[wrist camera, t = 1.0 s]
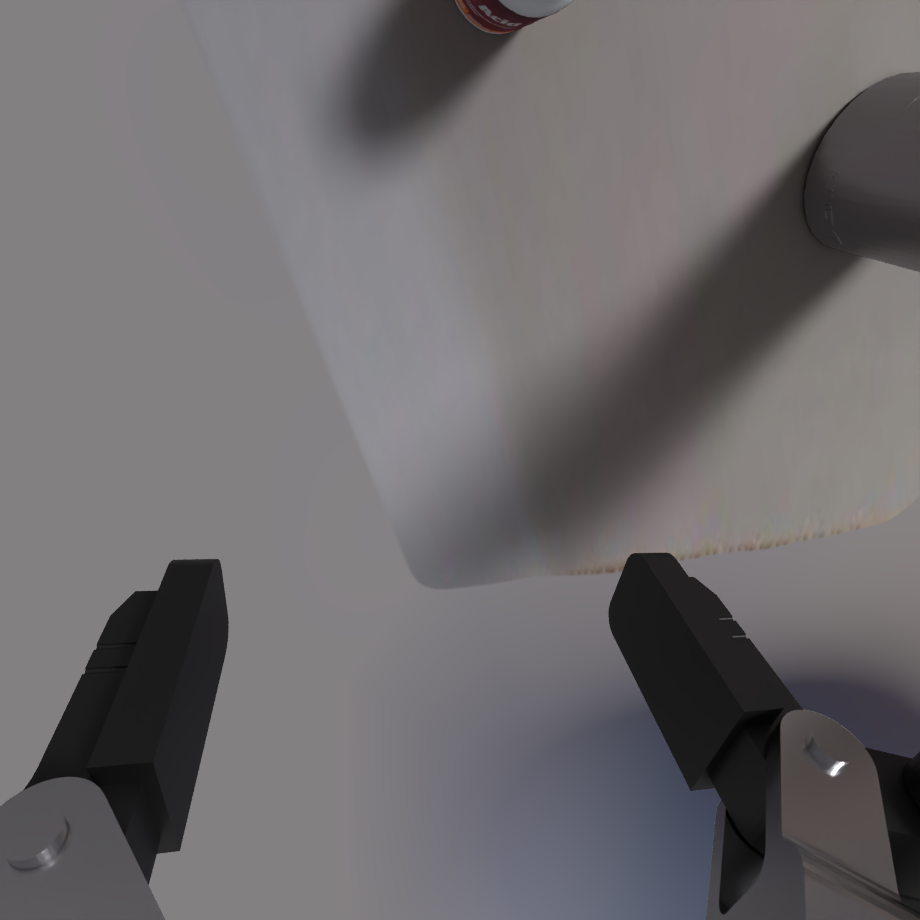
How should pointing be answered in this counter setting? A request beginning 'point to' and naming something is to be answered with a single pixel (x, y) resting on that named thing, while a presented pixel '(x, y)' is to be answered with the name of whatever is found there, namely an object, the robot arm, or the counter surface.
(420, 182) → the counter surface
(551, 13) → the pill bottle
